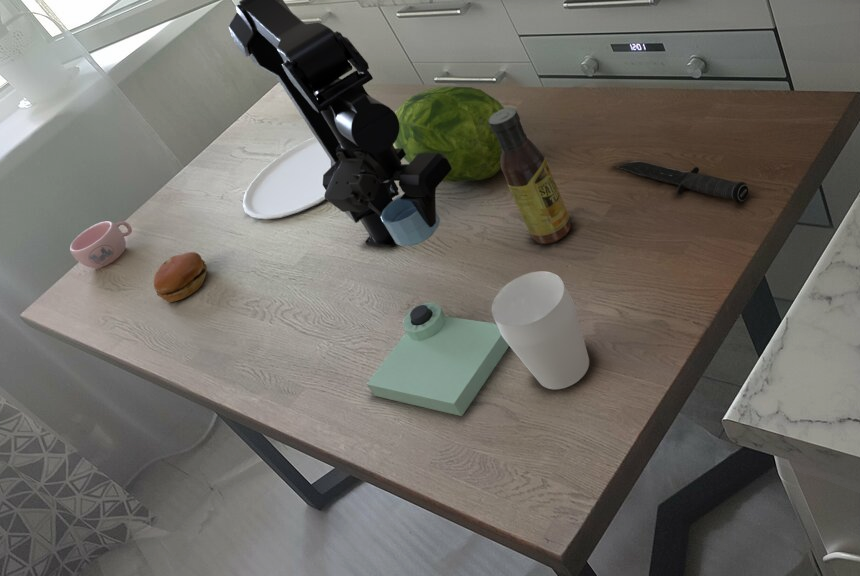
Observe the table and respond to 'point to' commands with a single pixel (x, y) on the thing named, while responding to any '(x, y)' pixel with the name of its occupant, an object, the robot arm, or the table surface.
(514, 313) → the cup
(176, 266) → the burger
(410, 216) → the bowl
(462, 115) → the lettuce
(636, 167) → the knife
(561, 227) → the sauce bottle
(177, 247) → the table surface
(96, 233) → the mug
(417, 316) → the tare button
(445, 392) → the scale
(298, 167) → the plate
